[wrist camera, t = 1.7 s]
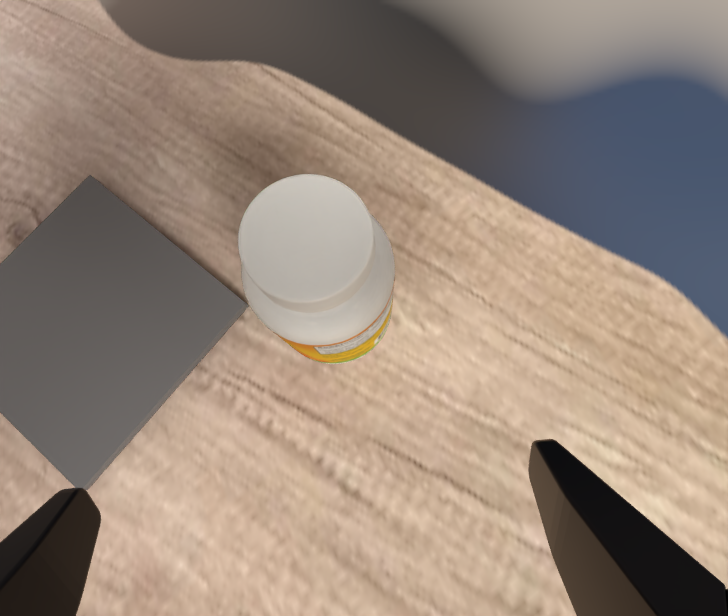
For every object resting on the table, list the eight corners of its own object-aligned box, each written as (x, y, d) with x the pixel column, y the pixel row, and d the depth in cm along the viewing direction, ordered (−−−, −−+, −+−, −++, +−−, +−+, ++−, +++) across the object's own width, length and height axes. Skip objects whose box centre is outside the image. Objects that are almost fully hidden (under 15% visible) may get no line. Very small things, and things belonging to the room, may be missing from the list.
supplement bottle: (265, 281, 23) (187, 189, 14) (366, 242, 24) (356, 125, 14) (303, 383, 22) (246, 357, 13) (408, 339, 22) (428, 283, 13)
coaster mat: (87, 489, 21) (79, 491, 21) (-63, 340, 23) (-74, 338, 23) (248, 305, 23) (245, 302, 23) (96, 180, 25) (89, 174, 24)
